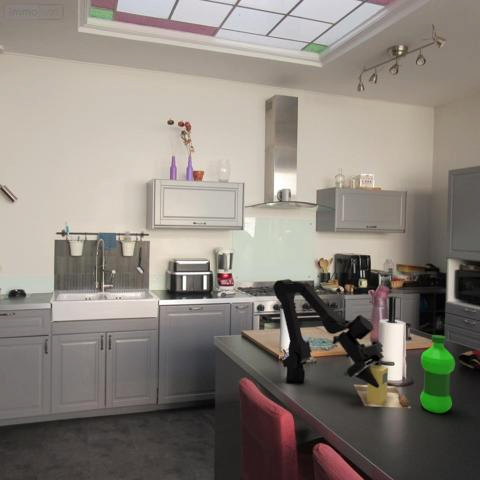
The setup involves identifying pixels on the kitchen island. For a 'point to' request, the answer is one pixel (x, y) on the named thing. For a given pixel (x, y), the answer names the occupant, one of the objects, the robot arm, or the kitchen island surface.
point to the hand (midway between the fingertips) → (381, 385)
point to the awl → (403, 400)
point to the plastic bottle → (437, 376)
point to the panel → (391, 402)
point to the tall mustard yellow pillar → (379, 393)
